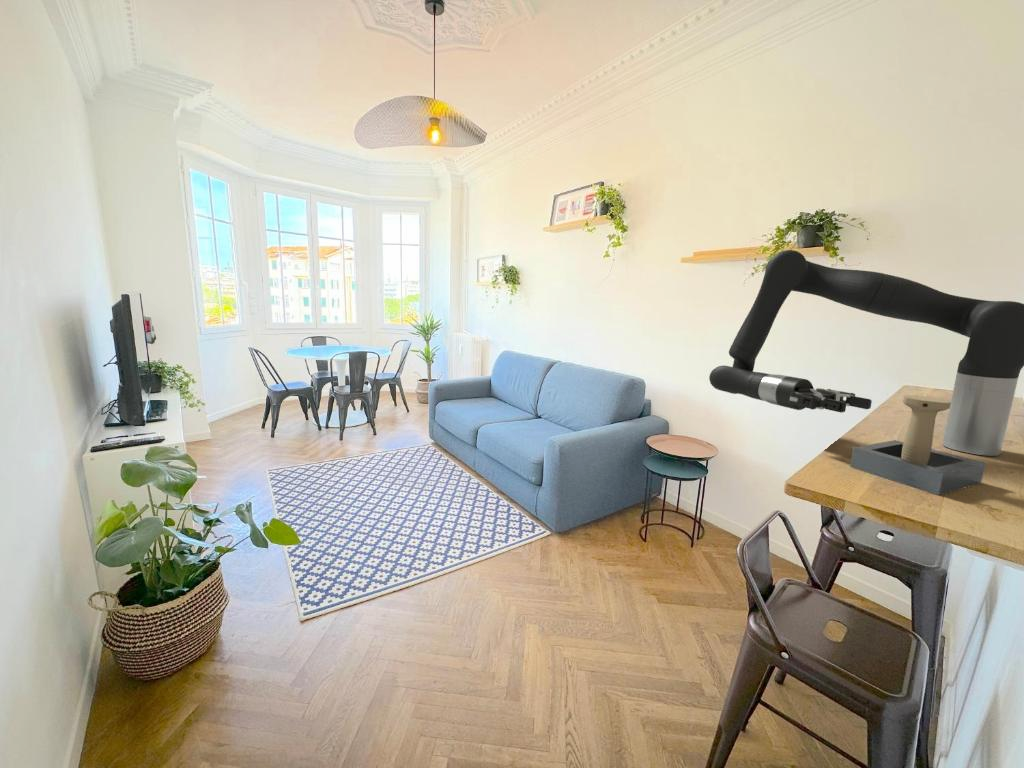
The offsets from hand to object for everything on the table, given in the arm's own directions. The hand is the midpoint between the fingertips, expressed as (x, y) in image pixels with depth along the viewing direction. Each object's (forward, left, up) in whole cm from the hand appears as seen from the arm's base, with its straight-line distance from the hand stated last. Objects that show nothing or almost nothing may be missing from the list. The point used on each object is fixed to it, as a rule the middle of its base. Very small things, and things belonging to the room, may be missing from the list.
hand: (857, 406), depth 91 cm
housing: (0, +11, -11) cm, 16 cm away
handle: (0, +11, -11) cm, 16 cm away
